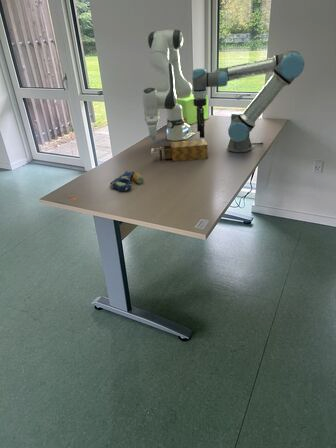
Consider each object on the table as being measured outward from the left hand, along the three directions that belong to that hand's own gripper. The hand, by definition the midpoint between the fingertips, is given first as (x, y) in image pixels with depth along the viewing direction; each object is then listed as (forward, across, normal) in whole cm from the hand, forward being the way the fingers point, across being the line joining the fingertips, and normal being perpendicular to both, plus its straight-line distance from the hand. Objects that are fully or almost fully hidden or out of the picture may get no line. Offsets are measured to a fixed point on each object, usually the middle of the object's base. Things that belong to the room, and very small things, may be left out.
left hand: (154, 140), depth 206 cm
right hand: (-1, 0, +29) cm, 29 cm away
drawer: (+11, 0, +10) cm, 15 cm away
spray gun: (+12, +35, -15) cm, 40 cm away
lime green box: (+12, -90, +28) cm, 95 cm away
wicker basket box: (+12, 0, +21) cm, 24 cm away
